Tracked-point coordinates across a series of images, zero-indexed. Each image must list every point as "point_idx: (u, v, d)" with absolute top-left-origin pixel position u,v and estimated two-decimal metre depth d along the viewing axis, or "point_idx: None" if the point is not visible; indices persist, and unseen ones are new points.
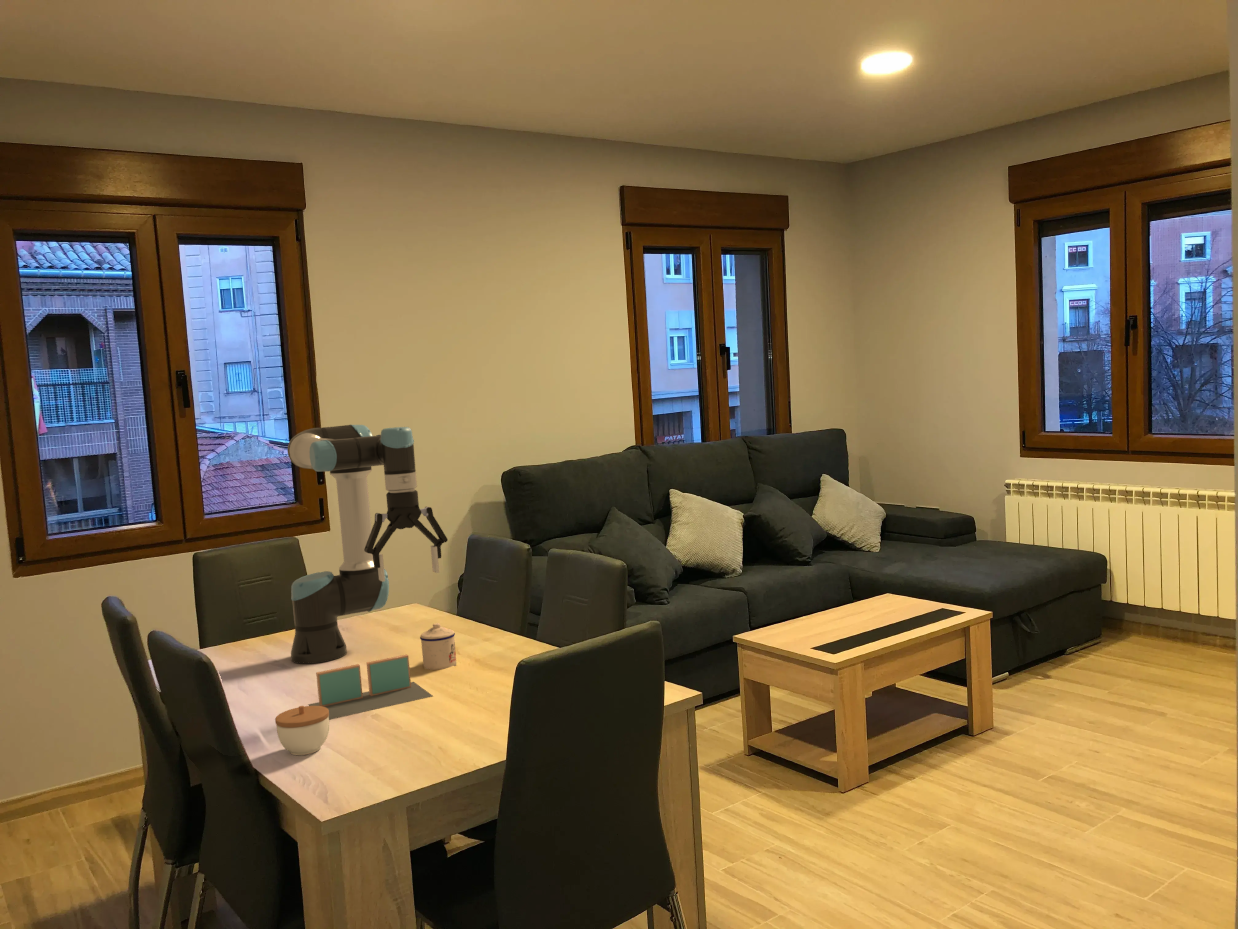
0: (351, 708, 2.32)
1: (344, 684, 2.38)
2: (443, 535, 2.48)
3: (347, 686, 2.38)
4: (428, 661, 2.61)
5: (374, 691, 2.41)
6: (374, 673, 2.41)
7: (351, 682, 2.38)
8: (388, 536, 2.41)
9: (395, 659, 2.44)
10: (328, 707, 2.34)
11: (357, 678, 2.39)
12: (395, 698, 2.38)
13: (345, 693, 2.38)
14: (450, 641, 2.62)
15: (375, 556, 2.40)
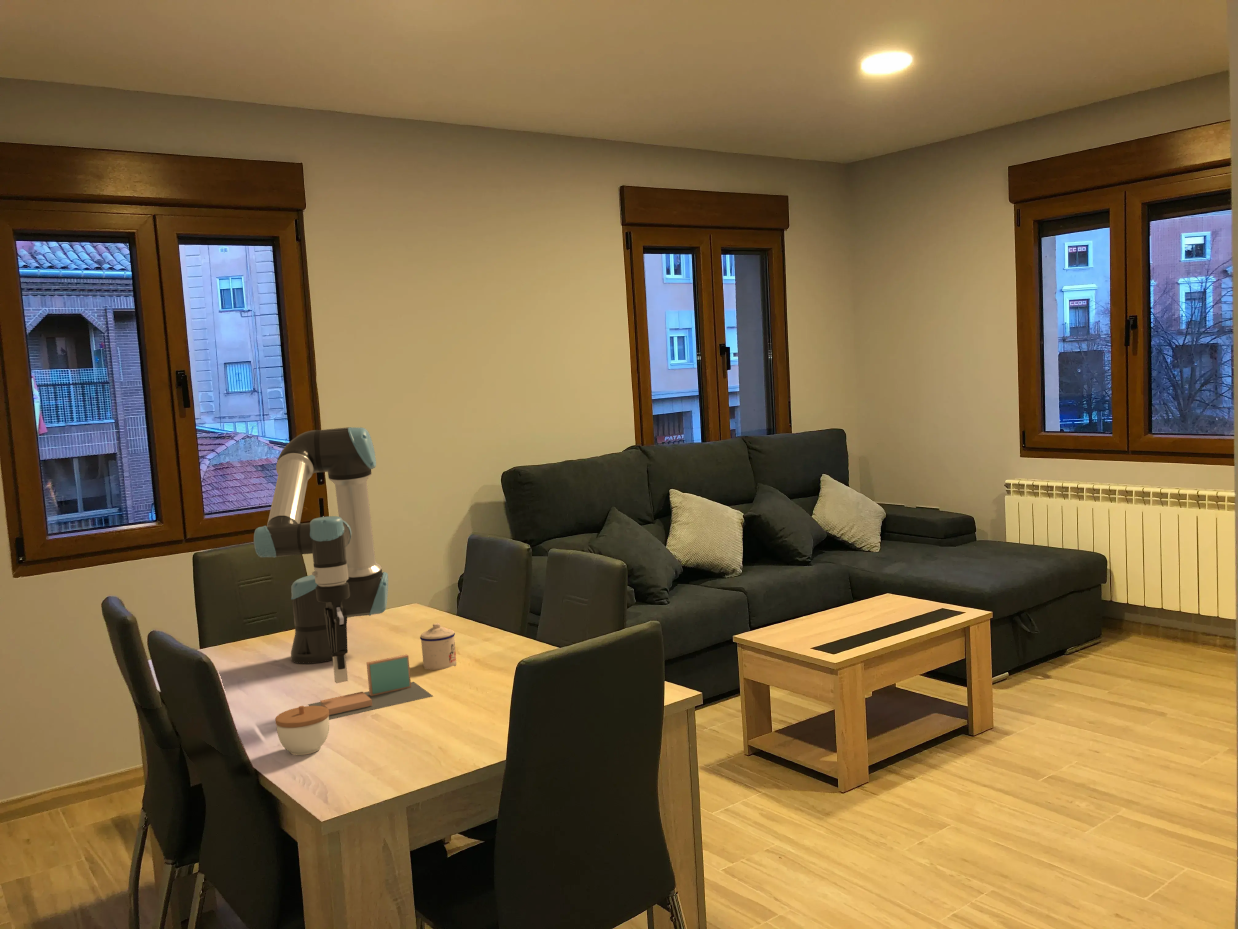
0: None
1: None
2: (336, 648, 2.31)
3: None
4: (428, 661, 2.61)
5: (374, 691, 2.41)
6: (374, 673, 2.41)
7: None
8: (330, 632, 2.35)
9: (395, 659, 2.44)
10: None
11: None
12: (395, 698, 2.38)
13: None
14: (450, 641, 2.62)
15: None
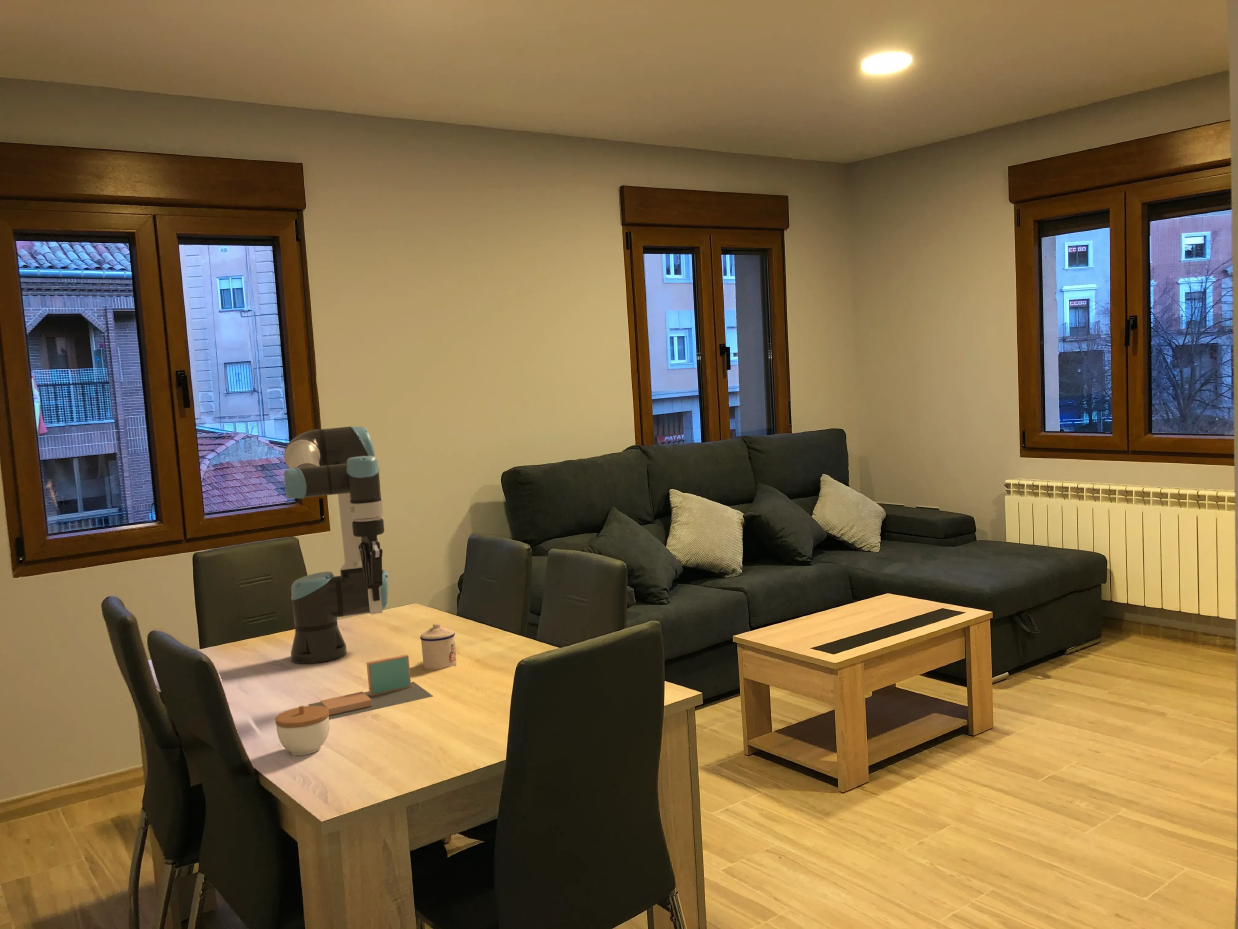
0: None
1: None
2: (372, 580, 2.43)
3: None
4: (428, 661, 2.61)
5: (374, 691, 2.41)
6: (374, 673, 2.41)
7: None
8: (365, 566, 2.47)
9: (395, 659, 2.44)
10: None
11: None
12: (395, 698, 2.38)
13: None
14: (450, 641, 2.62)
15: None
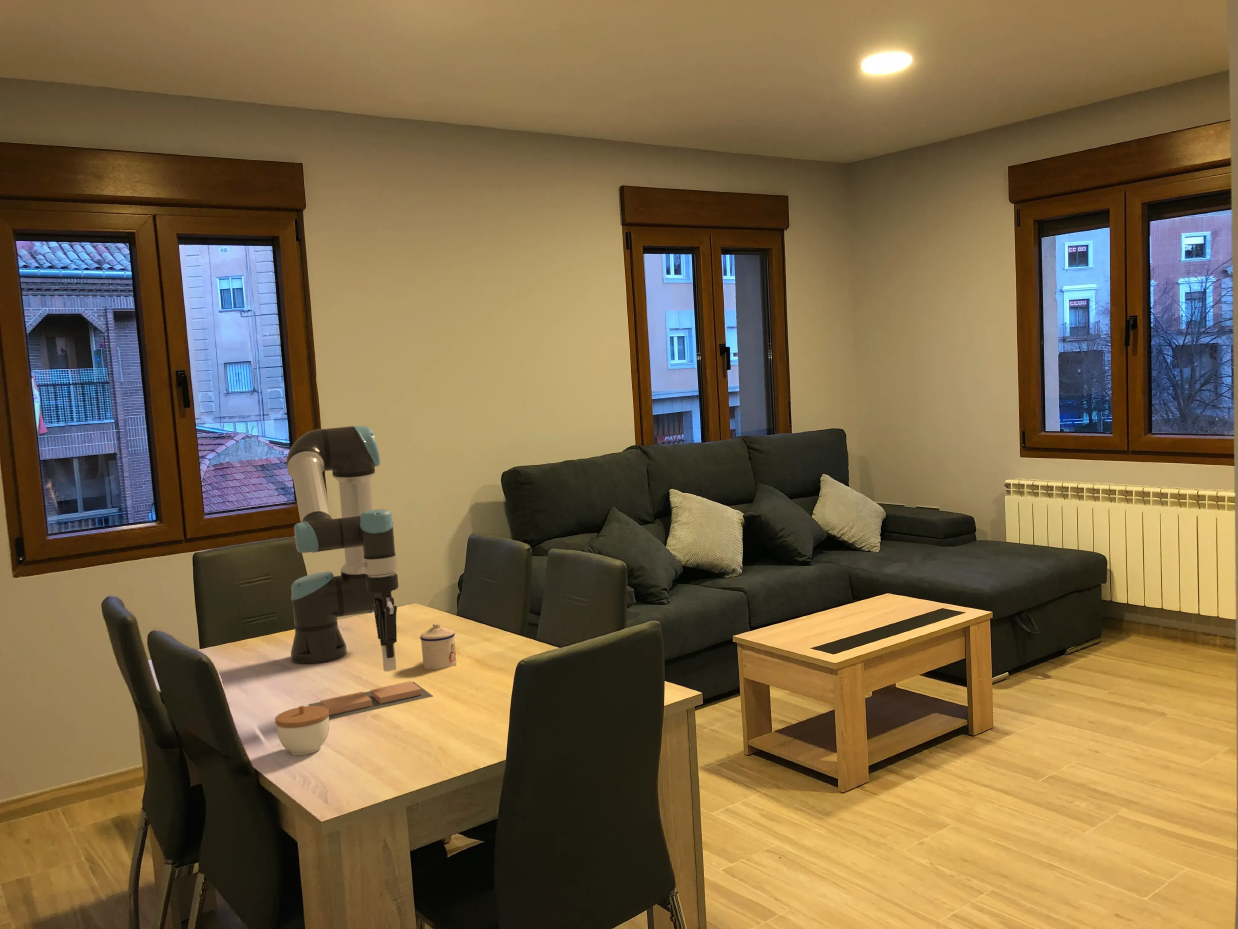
0: None
1: None
2: (386, 637, 2.38)
3: None
4: (428, 661, 2.61)
5: None
6: None
7: None
8: (379, 622, 2.42)
9: (408, 697, 2.37)
10: None
11: None
12: None
13: None
14: (450, 641, 2.62)
15: None
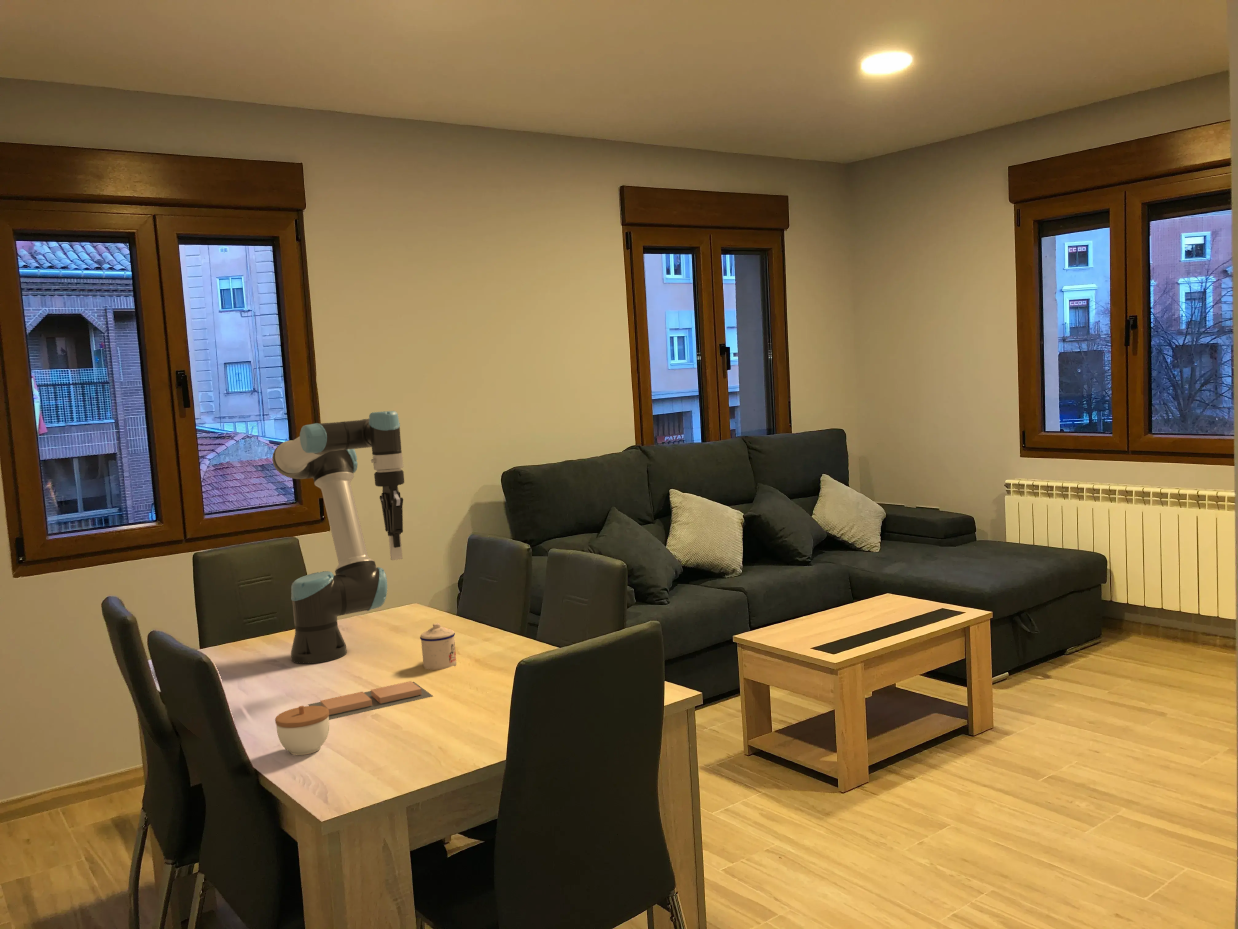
0: None
1: None
2: (393, 527, 2.58)
3: None
4: (428, 661, 2.61)
5: None
6: None
7: None
8: (386, 514, 2.62)
9: (408, 697, 2.37)
10: None
11: None
12: None
13: None
14: (450, 641, 2.62)
15: None
